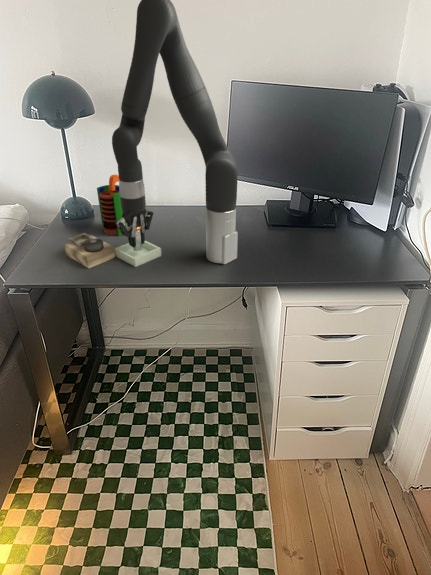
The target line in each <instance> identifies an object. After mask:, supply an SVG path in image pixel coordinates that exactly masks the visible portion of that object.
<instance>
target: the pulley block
mask: <svg viewBox="0 0 431 575" xmlns="http://www.w3.org/2000/svg"><path fill="white" fill-rule="evenodd" d="M114 248H115V246H113V245H112V244H109V243H108V242H105V241H104V240H102V239H101V238H98V237H96V236H94V235H92V234H87V233H86V232H83V233H80V234H77V235H75V236H71V237H69V238H68V242H66V243H64V249H65V255H66V256H67V257H69V258H70V259H72V260H74V261H75V262H77V263H79V264H80V265H82V266H84V267H85V268H87V269H91V268H93V267H95V266H96V267H97V266H98V265H100V264H103V263H106V262H108V261H110V260H112V259H116V256H115V249H114Z"/></svg>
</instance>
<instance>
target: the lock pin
mask: <svg viewBox="0 0 431 575" xmlns="http://www.w3.org/2000/svg"><path fill="white" fill-rule="evenodd" d="M140 229H141V226H139V225H136V230H135V240H136V247H133V250H134V251H140V250H142V244H141V233H140Z"/></svg>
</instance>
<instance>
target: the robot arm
mask: <svg viewBox="0 0 431 575" xmlns="http://www.w3.org/2000/svg"><path fill="white" fill-rule="evenodd" d="M136 9H137V10H136V22H135V38H134V45H133V53H132V58H131V63H130V67H129V71H128V75H127V80H126V83H125V88H124V90H123V91H124V93H123V96H122V101H121V107H120V110H121V113H122V114H121V119H120V123H119V125H118V127H117V128H116V129H114V130H113V133H112V135H111V136H112V138H111V146H112V151H113V154H114V157H115V161H116V164H117V172H118V174H117V175H119V181H118V185H119V191H120V200H121V208H122V211H123V214H122V218H121V219H120V220H119V221H118V220H116V221H115V224H116V225H117V227H118V228H119V230H120V232H121V233H122V236H124V237H126V238H127V239H128V243H129V245H130V246H132V247H136V240H135V230H136V225H139V226H141V229H140V233H141V244H144V242H145V241H146V237H145V233H146V231H148V230H150V227H151V223H152V220H153V217H154V212H153V211H151V210H149V209H146V207H147V202H146V192H145V183H144V175H143V174H144V173H143V165H142V162H141V159H139V156H138V155H139V154H138V146H139V144H140V143H141V140H142V138H143V134H144V129H145V122H146V121H145V120H146V119H145V118H146V115H147V112H148V109H149V105H150V100H151V96H152V94H153V93H152V92H153V87H154V81H155V75H156V74H155V73H156V68H157V63H158V58H159V55H160V57H161V59H162V62H163V66H164V70H165V73H166V78H167V82H168V86H169V90H170V93H171V95H172V98H173V101H174V104H175V105H176V108H177V110H178V112H179V114H180V116H181V118H182V120H183V122H184V123H185V126H186V127H187V128H188V130H189V131H190V133H191V134H192V136H193V137H194V139H195V141H196V142H197V144H198V147H199V149H200V152H201V154H202V159H203V161H204V165H205V174H204V175H205V179H204V180H205V234H206V236H205V241H206V243H205V244H206V246H205V247H206V248H205V250H206V253H205V254H206V255H205V256H206V259H207V260H208V261H209V262H211V263H215V264H222V265H227V264H228V263H230V262H232V261H234V260H237V259H238V238H239V236H238V233H239V232H238V231H237V230H236V221H237V220H236V219H237V218H236V217H237V198H238V166H237V163H236V160H235V158H234V156H233V154H232V152H231V151H230V149H229V147H228V145H227V143H226V141H225V139H224V137H223V135H222V132H221V129H220V126H219V123H218V118H217V115H216V112H215V109H214V108H215V107H214V106H213V103H212V100H211V97H210V94H209V92H208V90H207V88H206V85H205V83H204V81H203V77H202V75H201V73H200V71H199V69H198V68H197V65H196V63H195V61H194V59H193V57H192V55H191V53H190V51H189V49H188V47H187V43H186V41H185V38H184V35H183V31H182V29H181V25H180V21H179V19H178V13H177V10H176V8H175V5H174V4H173V2H172V1H171V0H140V2H139V3H138V6H137V8H136ZM125 222H126V227H125ZM126 228H127V229H126Z"/></svg>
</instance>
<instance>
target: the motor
mask: <svg viewBox="0 0 431 575" xmlns="http://www.w3.org/2000/svg"><path fill="white" fill-rule="evenodd" d="M117 182H118V183H119V174H112V175H110V176H109V180H108V184H106V185H101V186H98V187H97V188H96V191H97V199H98V205H99V211H100V219H101V225H102V230H103V232H104V234H105V235H107V236H118V237H121V236H123V235H122V233H121V232H120V230H119V228H118V227H117V225H116V224H115V221H116V220H118V221H119V220H120V219H121V218H122V214H123V211H122V208H121V200H120V191H119V184H116V183H117ZM125 227H126V222H125ZM126 229H127V228H126Z"/></svg>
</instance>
